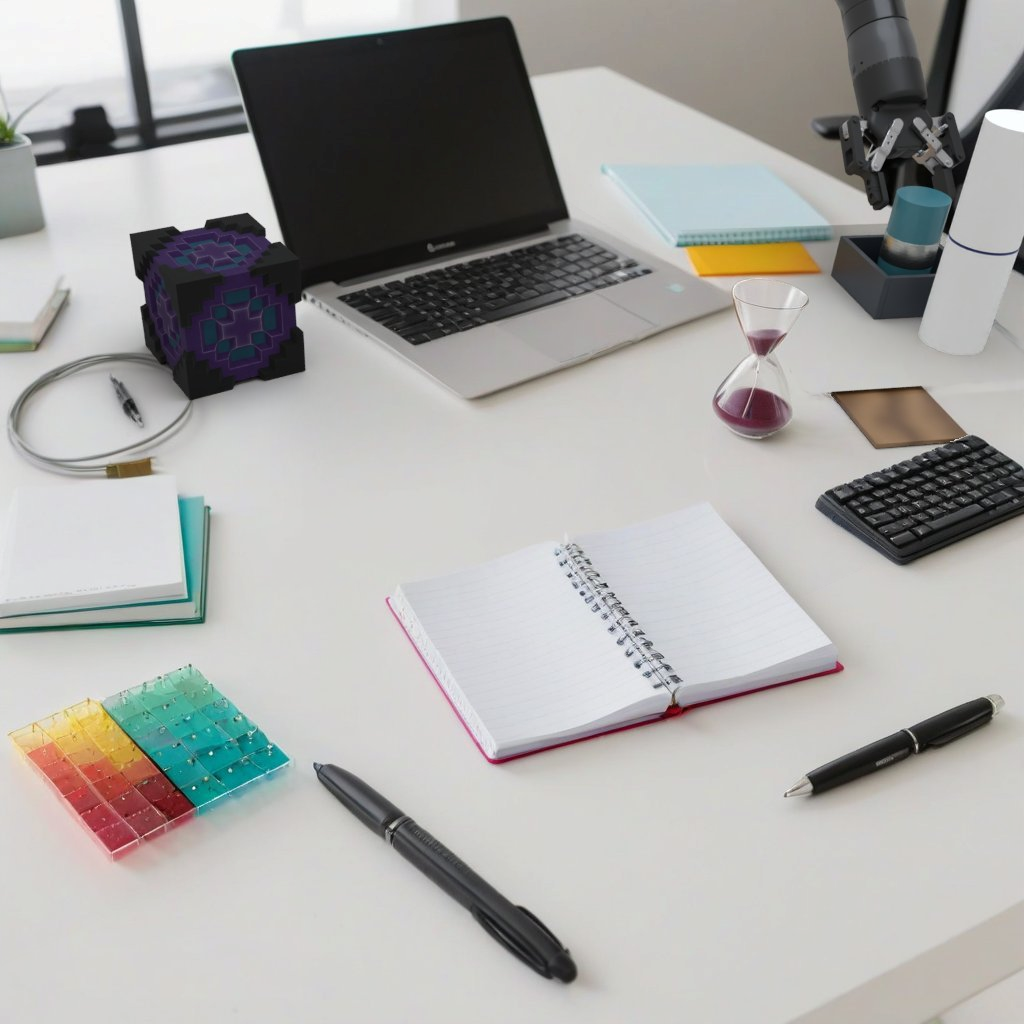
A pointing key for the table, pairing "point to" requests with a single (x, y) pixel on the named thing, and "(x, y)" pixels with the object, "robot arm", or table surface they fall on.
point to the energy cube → (219, 303)
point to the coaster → (899, 416)
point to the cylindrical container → (980, 240)
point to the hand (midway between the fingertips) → (914, 205)
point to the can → (914, 231)
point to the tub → (880, 280)
